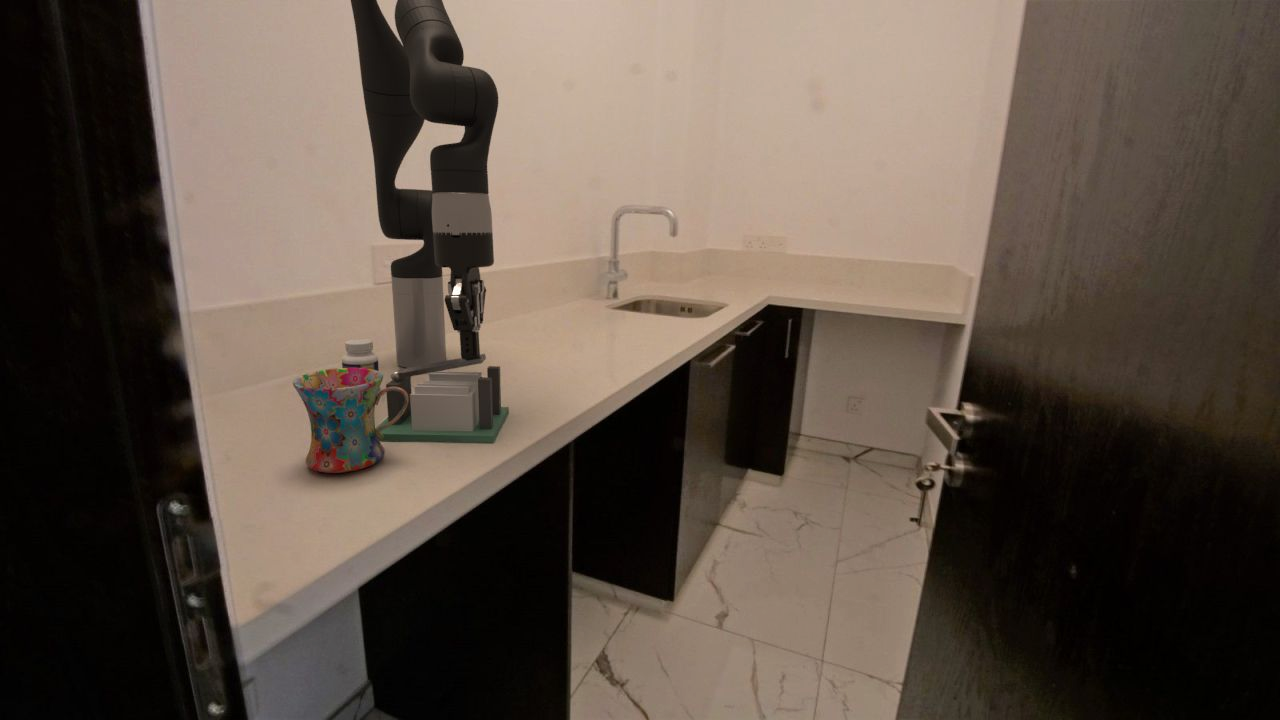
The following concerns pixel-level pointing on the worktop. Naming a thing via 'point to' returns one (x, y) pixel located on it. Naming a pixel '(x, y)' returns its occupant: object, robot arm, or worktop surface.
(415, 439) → the heatsink base
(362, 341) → the pill bottle
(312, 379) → the mug
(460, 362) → the strap
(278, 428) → the worktop surface
